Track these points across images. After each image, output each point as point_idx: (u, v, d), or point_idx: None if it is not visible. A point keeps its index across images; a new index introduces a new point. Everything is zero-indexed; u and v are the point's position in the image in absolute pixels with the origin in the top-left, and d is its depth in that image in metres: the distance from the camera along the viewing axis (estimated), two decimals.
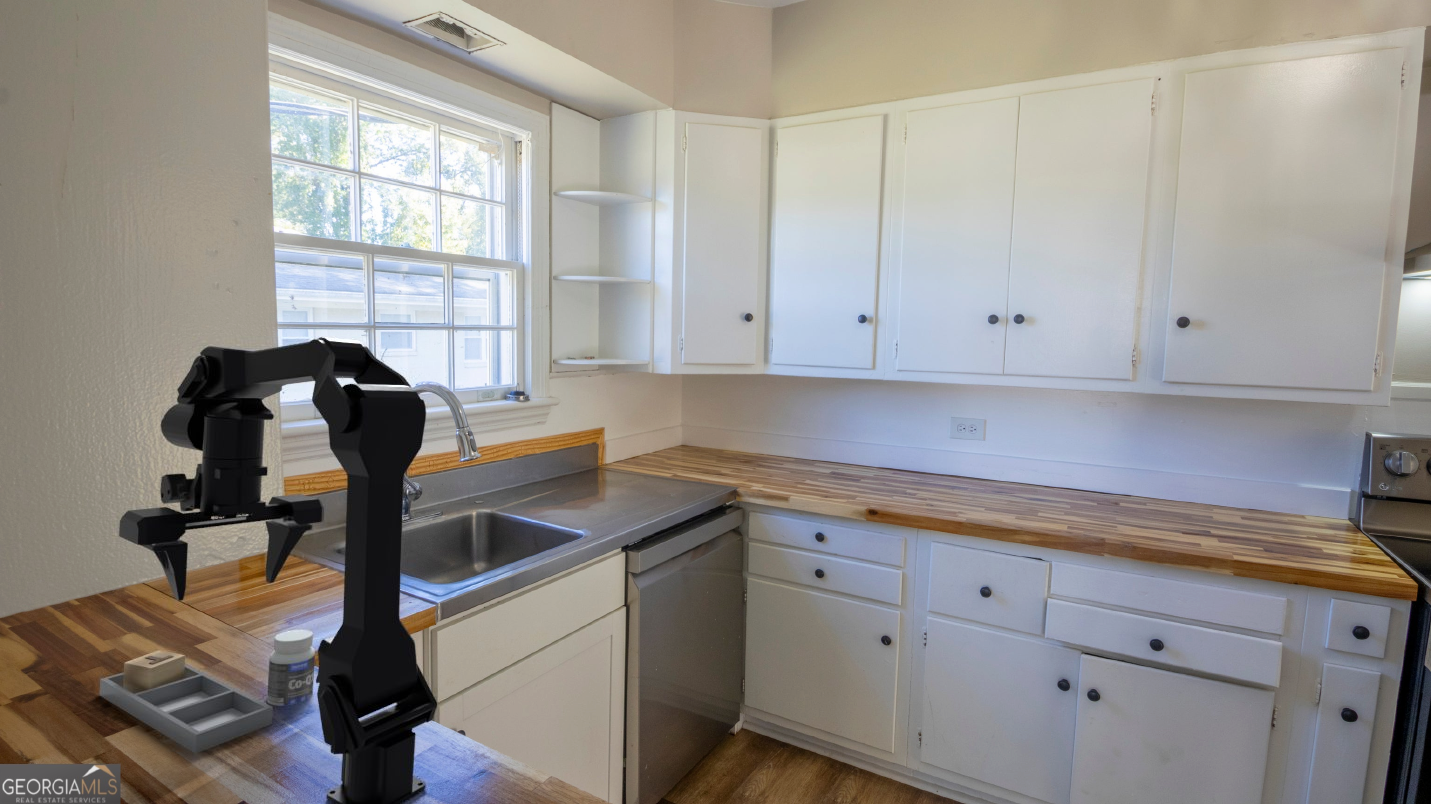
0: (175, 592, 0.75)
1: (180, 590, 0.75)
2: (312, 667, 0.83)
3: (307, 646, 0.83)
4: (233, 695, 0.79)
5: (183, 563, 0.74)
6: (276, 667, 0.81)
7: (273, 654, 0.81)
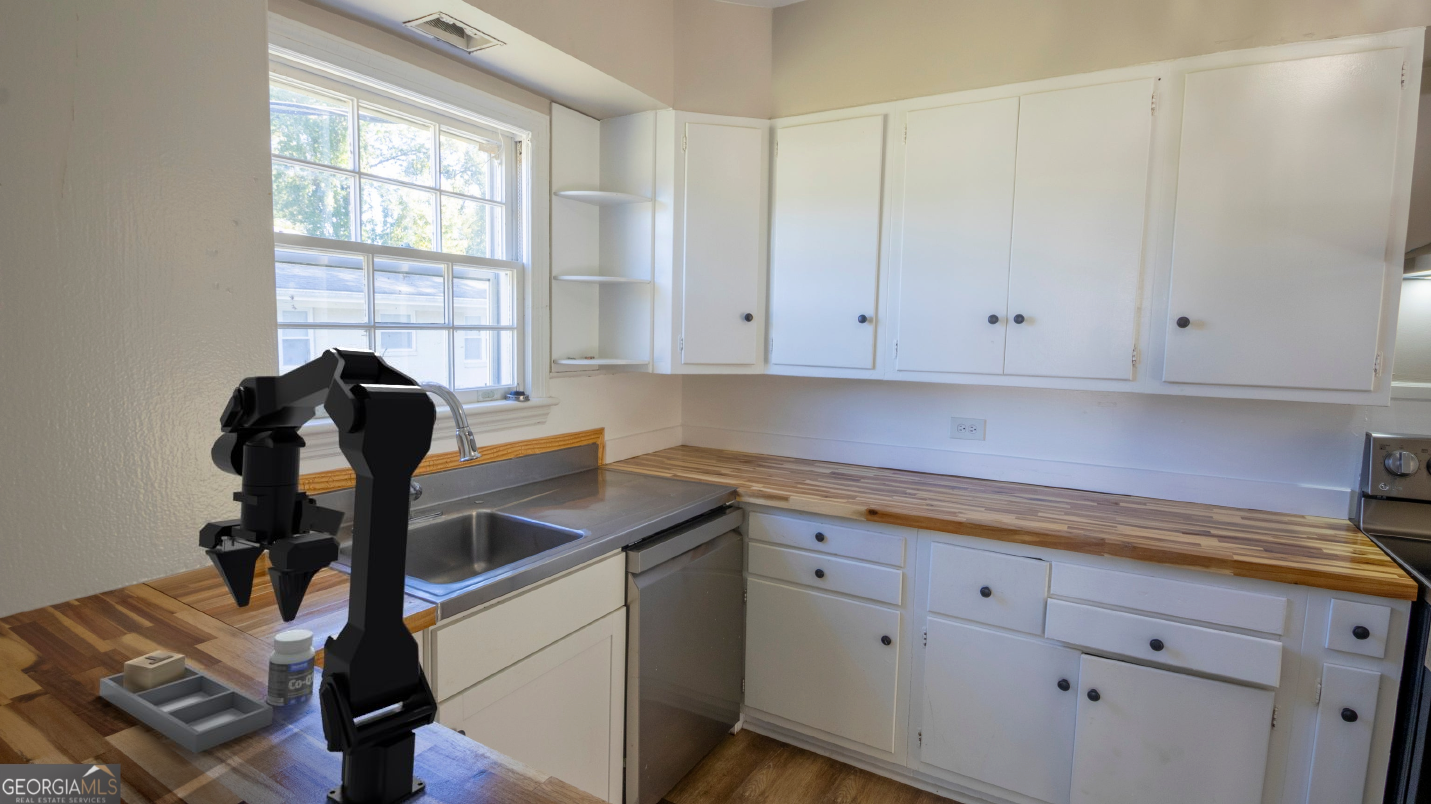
0: None
1: (234, 597, 0.83)
2: (312, 667, 0.83)
3: (307, 646, 0.83)
4: (233, 695, 0.79)
5: (222, 571, 0.82)
6: (276, 667, 0.81)
7: (273, 654, 0.81)
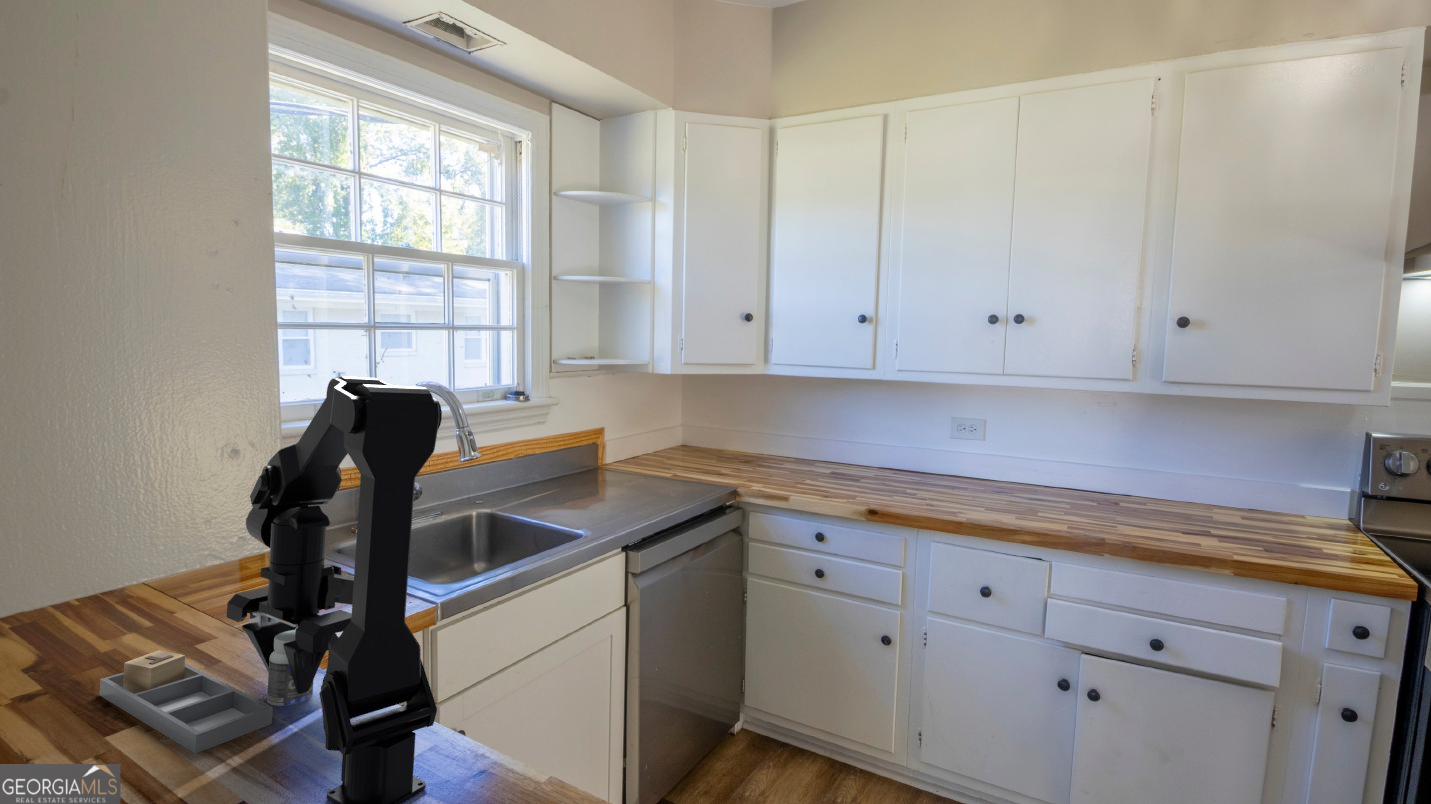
0: None
1: None
2: None
3: None
4: (233, 695, 0.79)
5: (258, 648, 0.82)
6: (276, 667, 0.81)
7: (273, 654, 0.81)
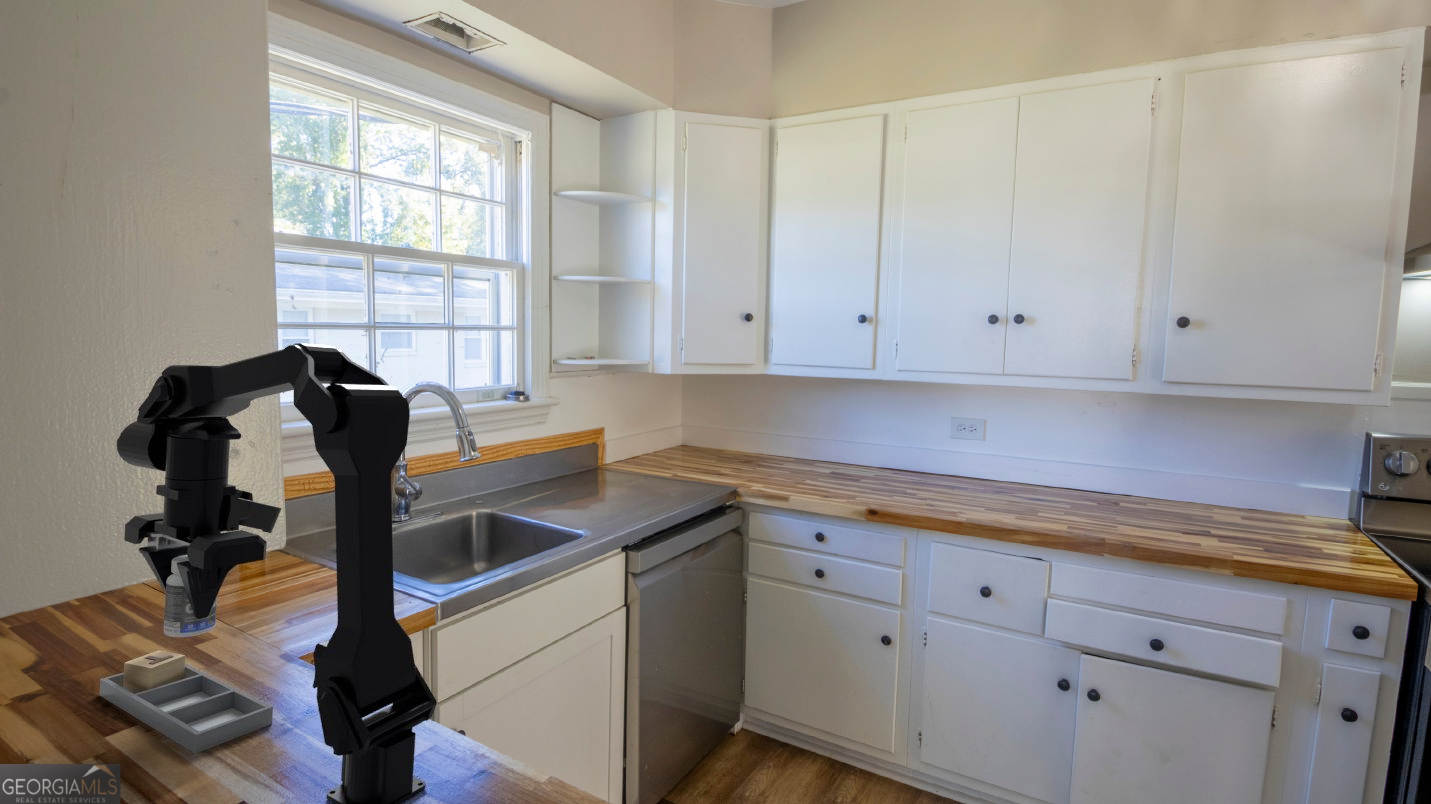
0: None
1: None
2: None
3: None
4: (233, 695, 0.79)
5: (156, 571, 0.78)
6: (172, 590, 0.76)
7: (170, 576, 0.77)
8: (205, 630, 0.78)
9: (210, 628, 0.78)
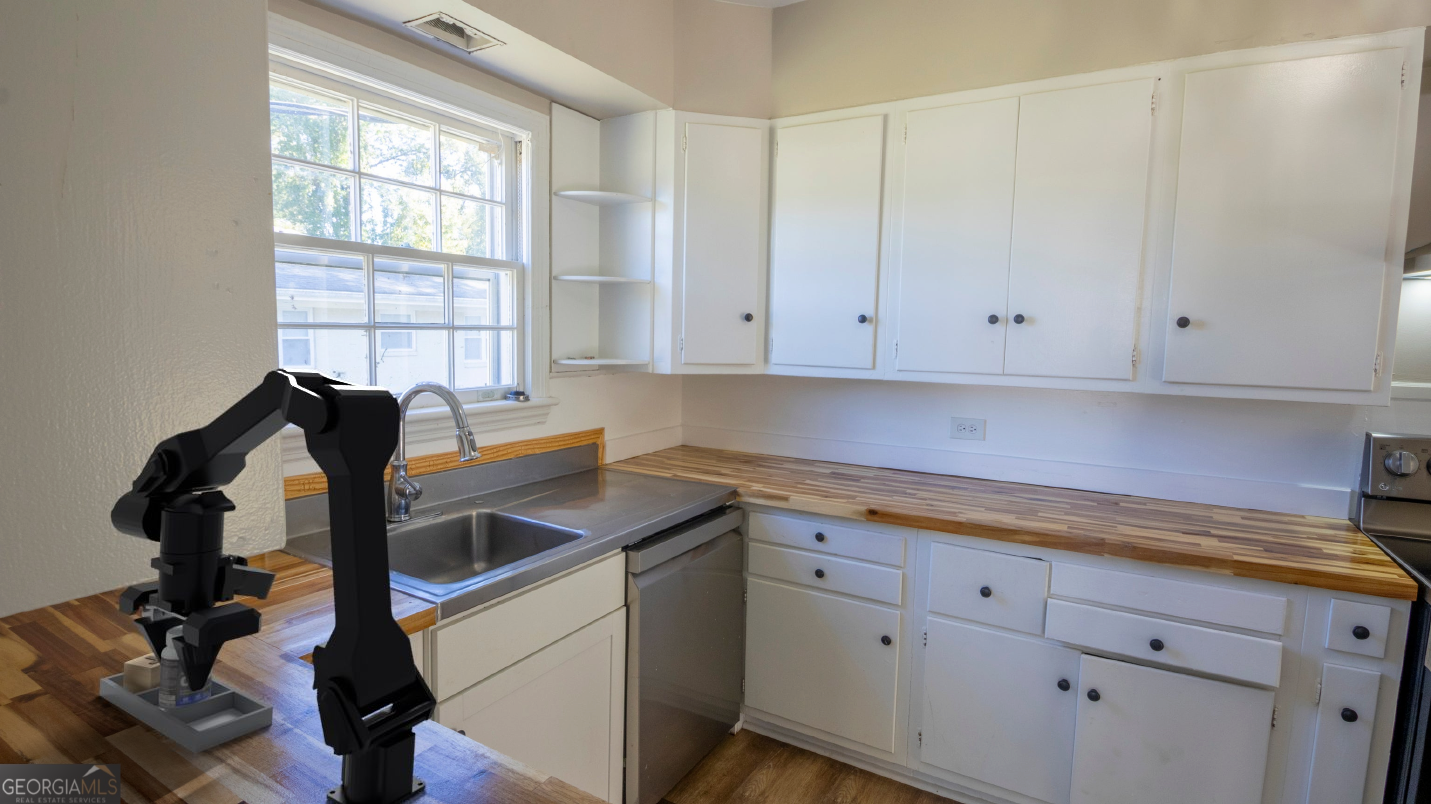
0: None
1: None
2: None
3: None
4: (233, 695, 0.79)
5: (150, 643, 0.78)
6: (167, 663, 0.76)
7: (165, 649, 0.77)
8: None
9: None
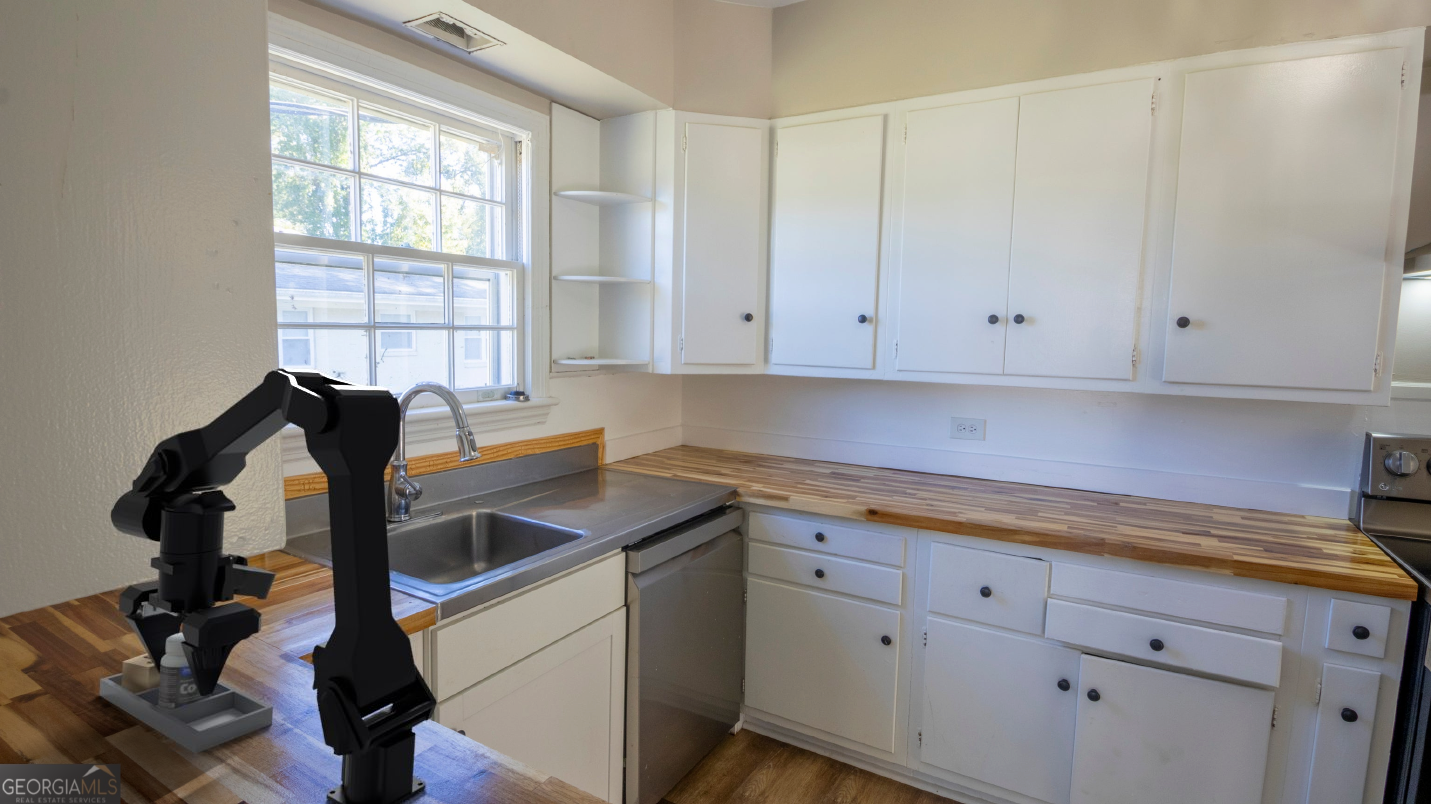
0: None
1: (156, 664, 0.80)
2: None
3: None
4: (233, 695, 0.79)
5: (142, 639, 0.79)
6: (167, 671, 0.76)
7: (164, 657, 0.77)
8: None
9: None
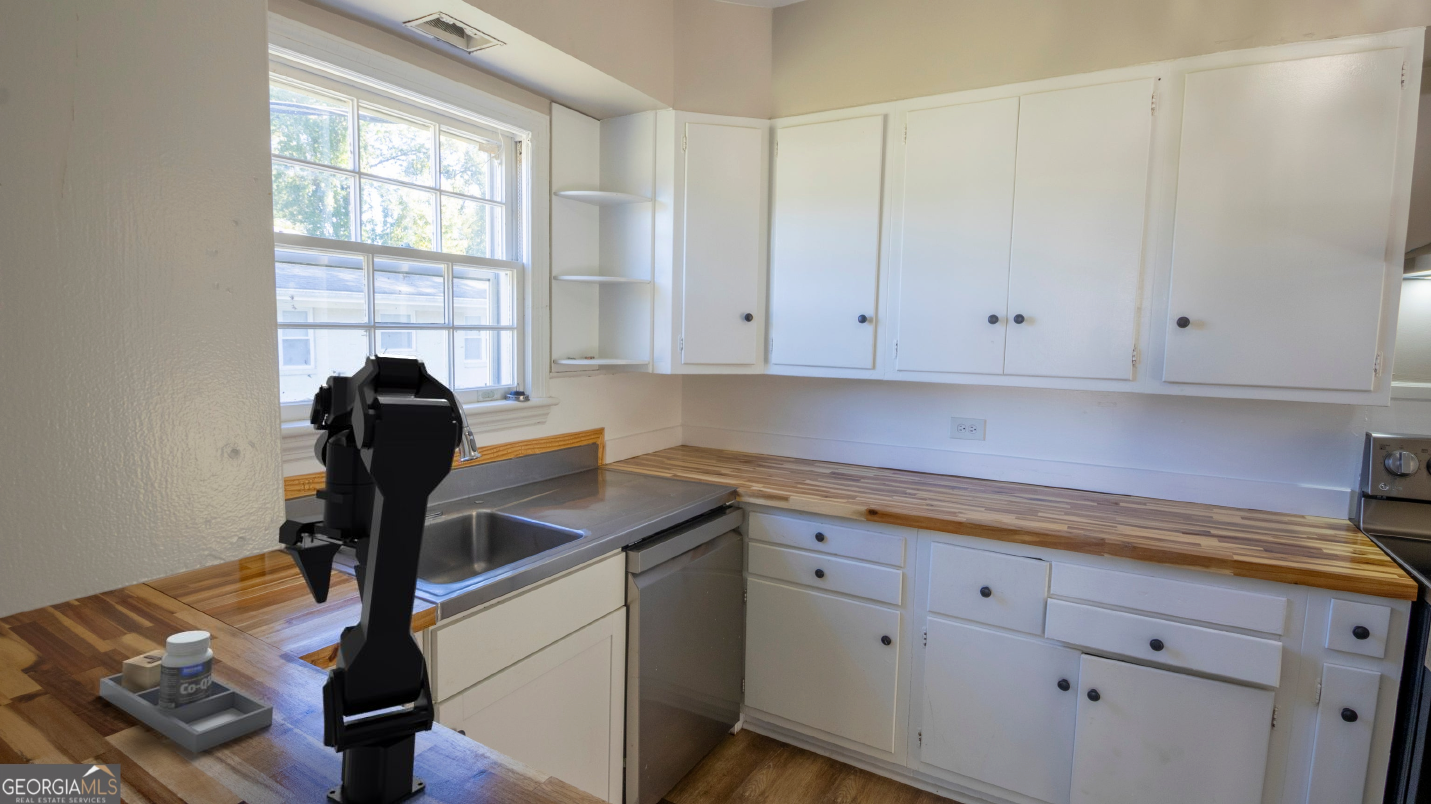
0: None
1: (313, 593, 0.84)
2: (208, 670, 0.78)
3: (203, 648, 0.78)
4: (233, 695, 0.79)
5: (302, 568, 0.83)
6: (167, 671, 0.76)
7: (165, 656, 0.77)
8: None
9: None
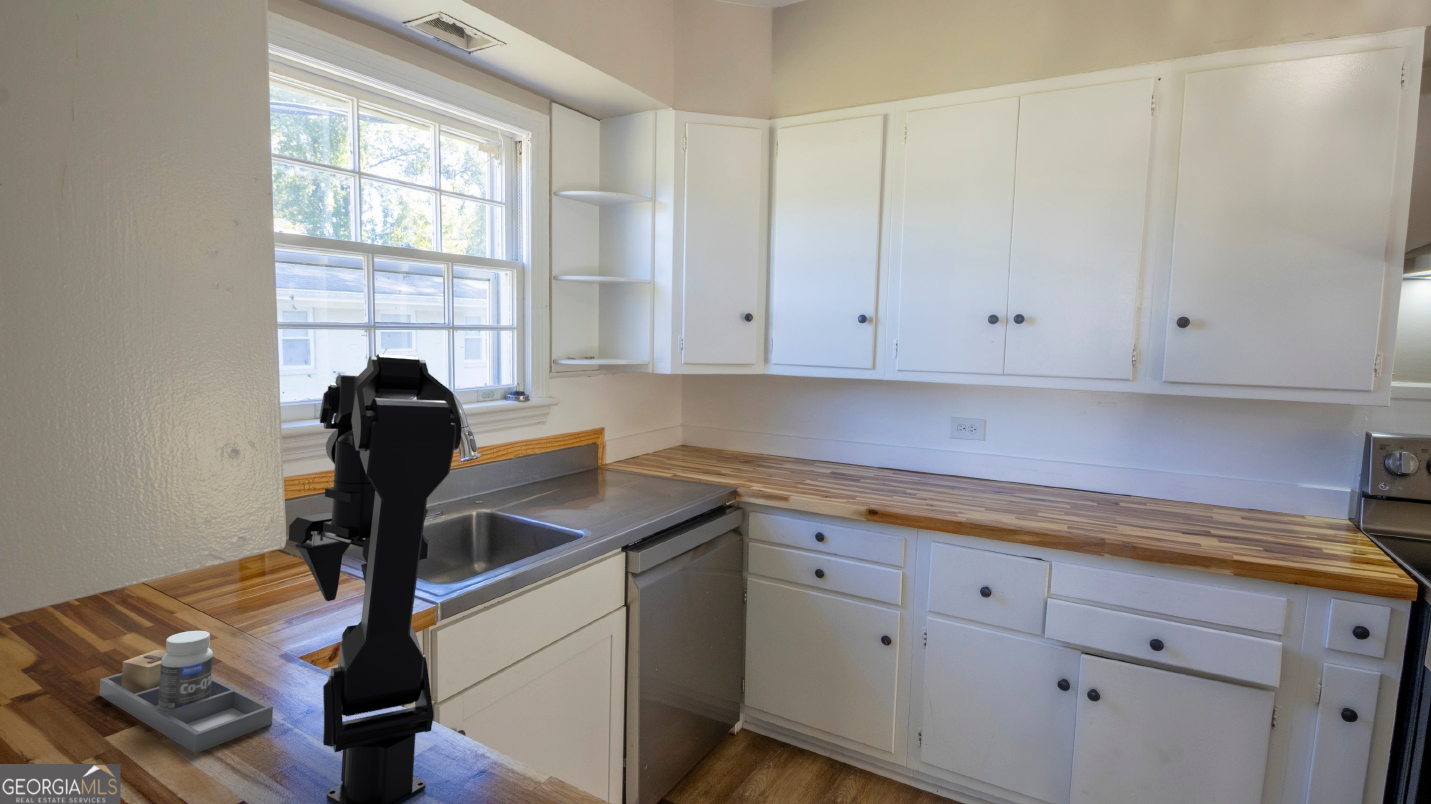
0: None
1: (323, 590, 0.84)
2: (208, 670, 0.78)
3: (203, 648, 0.78)
4: (233, 695, 0.79)
5: (311, 566, 0.83)
6: (167, 671, 0.76)
7: (165, 657, 0.77)
8: None
9: None
